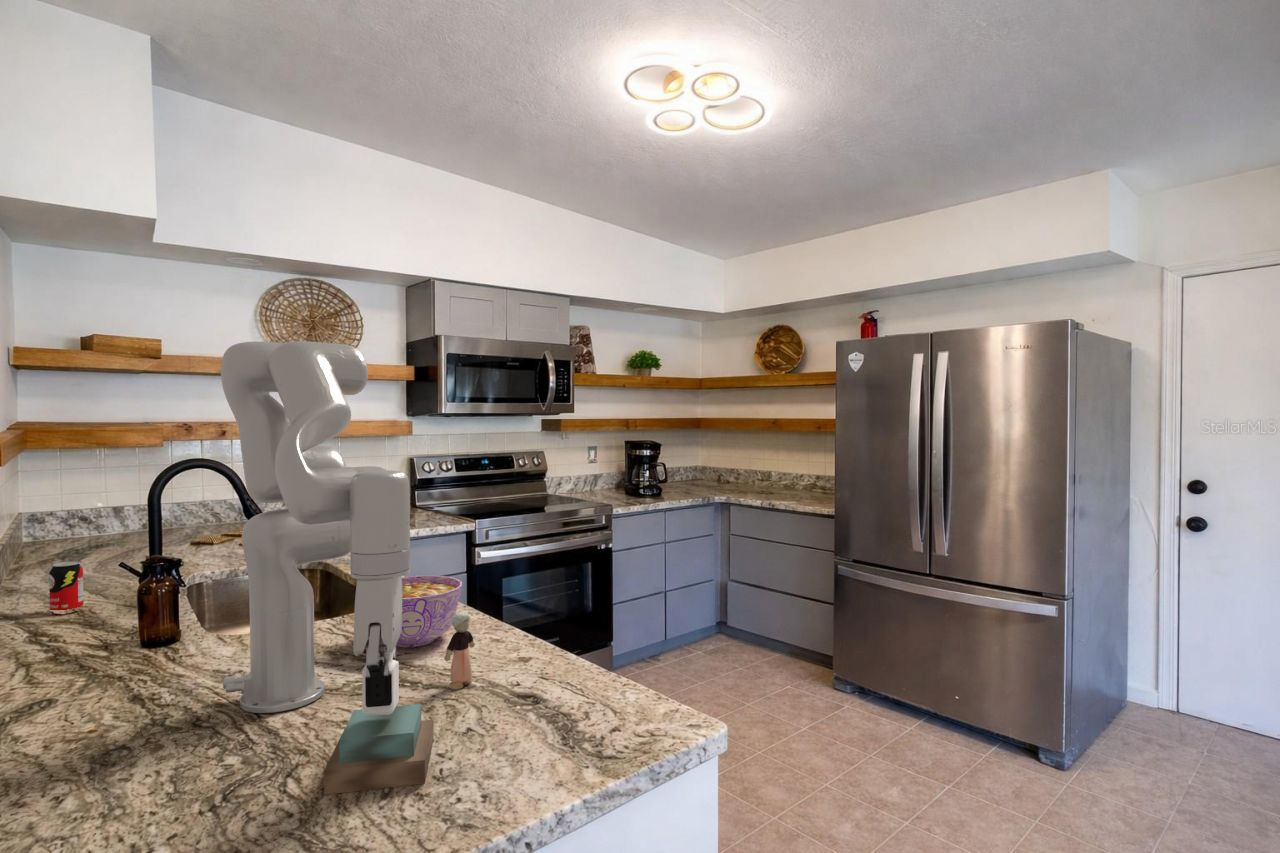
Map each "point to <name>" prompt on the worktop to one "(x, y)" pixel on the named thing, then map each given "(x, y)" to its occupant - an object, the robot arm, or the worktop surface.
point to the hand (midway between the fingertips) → (382, 696)
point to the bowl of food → (427, 608)
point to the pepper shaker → (395, 689)
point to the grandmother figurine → (460, 651)
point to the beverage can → (66, 585)
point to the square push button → (380, 751)
